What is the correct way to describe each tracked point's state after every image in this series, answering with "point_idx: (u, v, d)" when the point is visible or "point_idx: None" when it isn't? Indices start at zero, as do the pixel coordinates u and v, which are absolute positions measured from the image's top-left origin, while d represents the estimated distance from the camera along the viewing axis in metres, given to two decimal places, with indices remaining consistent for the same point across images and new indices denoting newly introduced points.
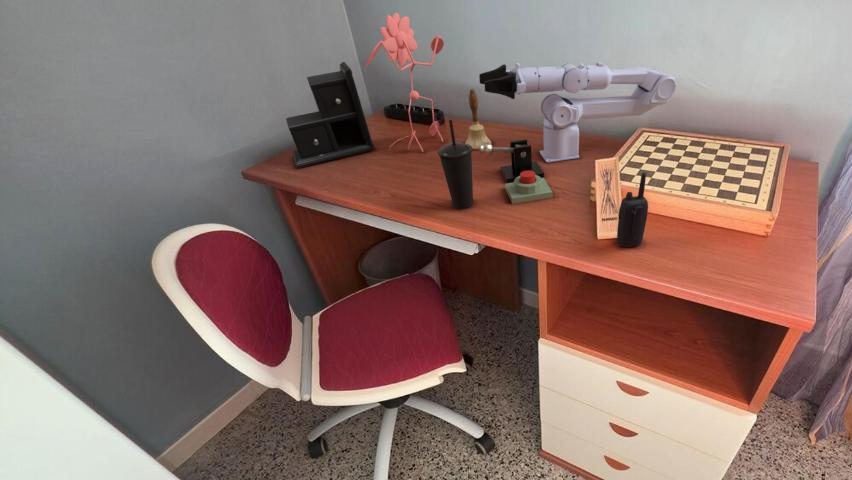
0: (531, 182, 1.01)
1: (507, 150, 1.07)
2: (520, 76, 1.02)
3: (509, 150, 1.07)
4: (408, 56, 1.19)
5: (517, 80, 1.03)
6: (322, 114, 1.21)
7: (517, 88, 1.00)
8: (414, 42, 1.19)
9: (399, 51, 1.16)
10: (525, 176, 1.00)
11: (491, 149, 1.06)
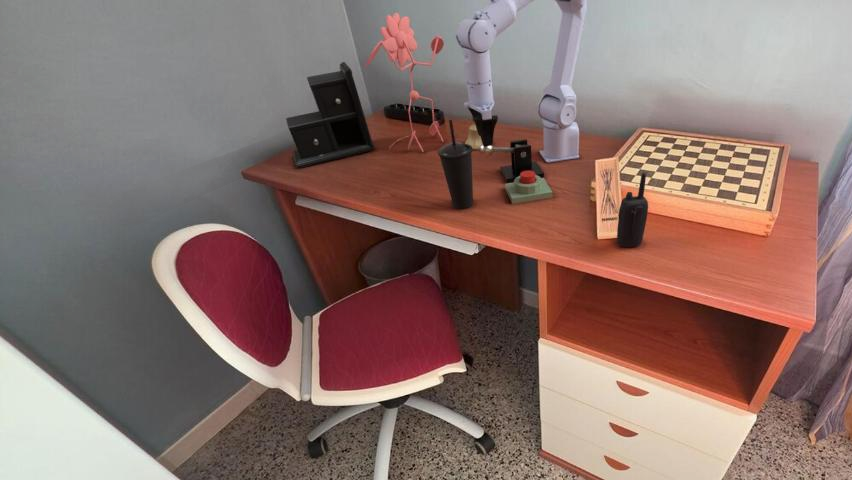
0: (531, 182, 1.01)
1: (507, 150, 1.07)
2: (476, 109, 0.96)
3: (509, 150, 1.07)
4: (408, 56, 1.19)
5: None
6: (322, 114, 1.21)
7: None
8: (414, 42, 1.19)
9: (399, 51, 1.16)
10: (525, 176, 1.00)
11: (491, 149, 1.06)
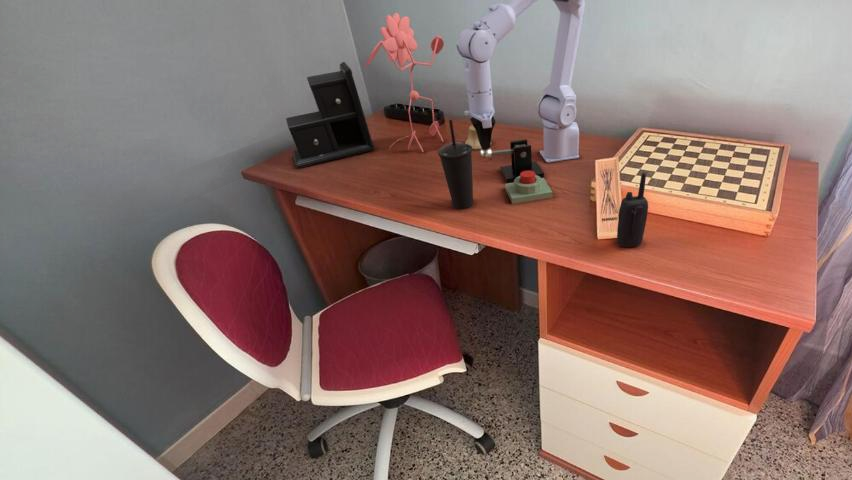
0: (531, 182, 1.01)
1: (507, 152, 1.08)
2: (476, 117, 0.98)
3: (509, 152, 1.08)
4: (408, 56, 1.19)
5: None
6: (322, 114, 1.21)
7: None
8: (414, 42, 1.19)
9: (399, 51, 1.16)
10: (525, 176, 1.00)
11: (491, 153, 1.06)
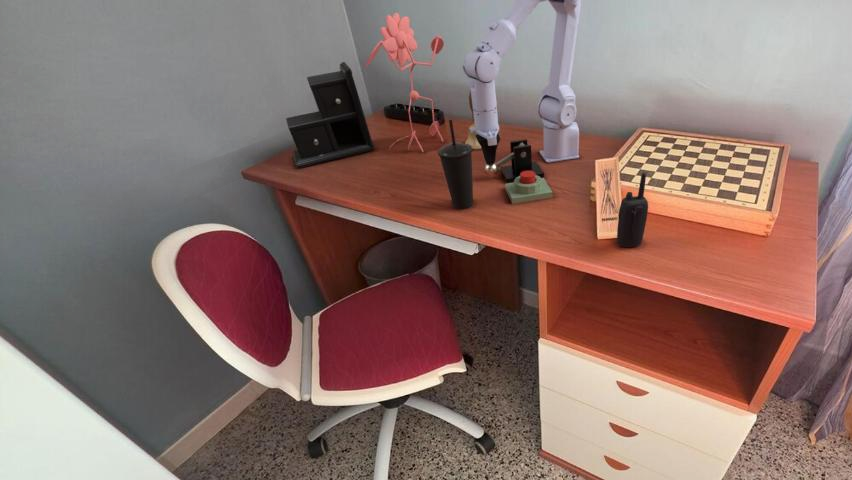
0: (531, 182, 1.01)
1: (509, 158, 1.09)
2: (481, 135, 1.00)
3: (510, 157, 1.09)
4: (408, 56, 1.19)
5: None
6: (322, 114, 1.21)
7: None
8: (414, 42, 1.19)
9: (399, 51, 1.16)
10: (525, 176, 1.00)
11: (494, 167, 1.09)
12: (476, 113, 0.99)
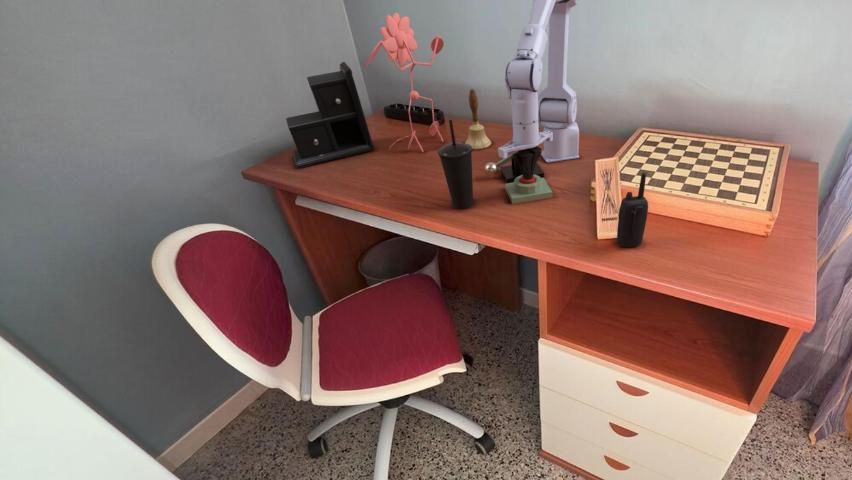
0: None
1: (509, 158, 1.09)
2: None
3: (510, 157, 1.09)
4: (408, 56, 1.19)
5: None
6: (322, 114, 1.21)
7: None
8: (414, 42, 1.19)
9: (399, 51, 1.16)
10: (525, 180, 1.01)
11: (494, 167, 1.09)
12: None
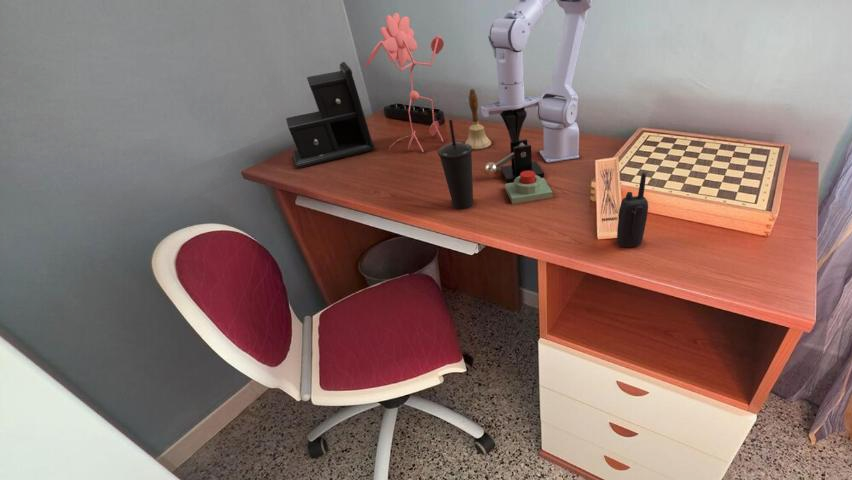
0: (531, 182, 1.01)
1: (509, 158, 1.09)
2: None
3: (510, 157, 1.09)
4: (408, 56, 1.19)
5: None
6: (322, 114, 1.21)
7: None
8: (414, 42, 1.19)
9: (399, 51, 1.16)
10: (525, 176, 1.00)
11: (494, 167, 1.09)
12: None
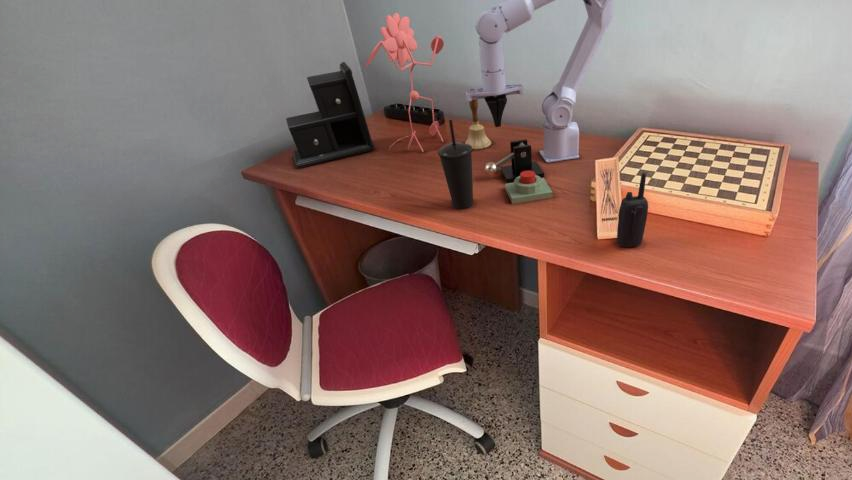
0: (531, 182, 1.01)
1: (509, 158, 1.09)
2: None
3: (510, 157, 1.09)
4: (408, 56, 1.19)
5: None
6: (322, 114, 1.21)
7: None
8: (414, 42, 1.19)
9: (399, 51, 1.16)
10: (525, 176, 1.00)
11: (494, 167, 1.09)
12: None
